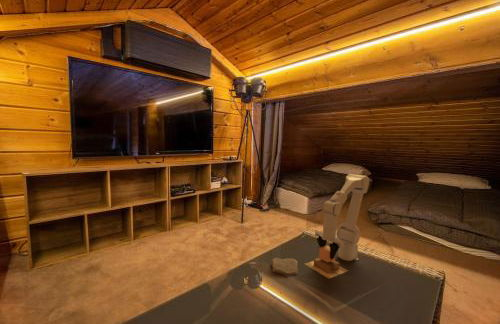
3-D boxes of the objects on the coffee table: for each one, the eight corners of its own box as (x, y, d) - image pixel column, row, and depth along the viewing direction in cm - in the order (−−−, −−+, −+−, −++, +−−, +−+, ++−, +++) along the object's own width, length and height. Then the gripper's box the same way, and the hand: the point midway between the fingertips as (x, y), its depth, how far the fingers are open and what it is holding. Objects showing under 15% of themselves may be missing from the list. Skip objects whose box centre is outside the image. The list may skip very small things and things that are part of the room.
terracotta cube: (325, 255, 112) (326, 245, 112) (334, 260, 108) (335, 249, 108) (318, 257, 110) (319, 247, 109) (327, 262, 105) (328, 251, 105)
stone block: (299, 281, 102) (296, 265, 111) (300, 272, 100) (297, 256, 110) (271, 279, 102) (271, 263, 112) (272, 270, 101) (272, 255, 111)
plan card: (345, 285, 97) (345, 284, 97) (361, 294, 91) (361, 293, 91) (336, 289, 94) (336, 288, 94) (352, 299, 88) (352, 298, 88)
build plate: (323, 259, 119) (323, 257, 119) (348, 272, 107) (348, 270, 107) (304, 265, 111) (304, 263, 111) (328, 281, 100) (328, 278, 100)
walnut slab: (324, 261, 115) (325, 255, 115) (338, 269, 108) (339, 262, 108) (313, 265, 110) (314, 259, 110) (327, 273, 104) (328, 267, 103)
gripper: (311, 223, 112) (309, 251, 113) (337, 234, 100) (335, 264, 101) (321, 221, 116) (319, 248, 117) (347, 231, 104) (344, 261, 105)
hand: (327, 255), depth 109 cm, fingers closed on terracotta cube, 5 cm apart
